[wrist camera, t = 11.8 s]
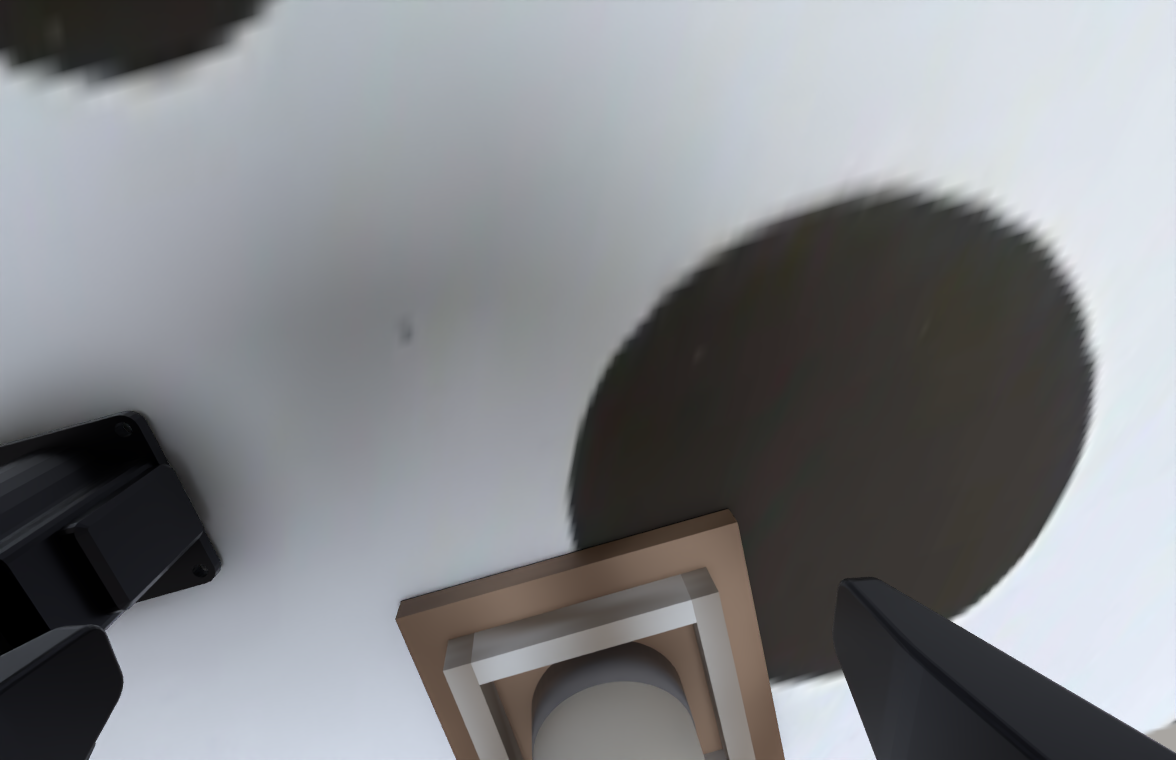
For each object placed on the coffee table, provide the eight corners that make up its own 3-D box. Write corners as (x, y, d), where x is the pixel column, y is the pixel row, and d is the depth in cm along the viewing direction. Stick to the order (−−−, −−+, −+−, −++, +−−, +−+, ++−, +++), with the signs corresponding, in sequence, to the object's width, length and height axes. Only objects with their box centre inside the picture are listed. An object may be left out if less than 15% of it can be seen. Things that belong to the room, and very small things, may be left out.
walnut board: (500, 835, 26) (498, 899, 24) (401, 601, 22) (385, 649, 20) (778, 754, 26) (803, 808, 24) (728, 508, 22) (752, 544, 20)
